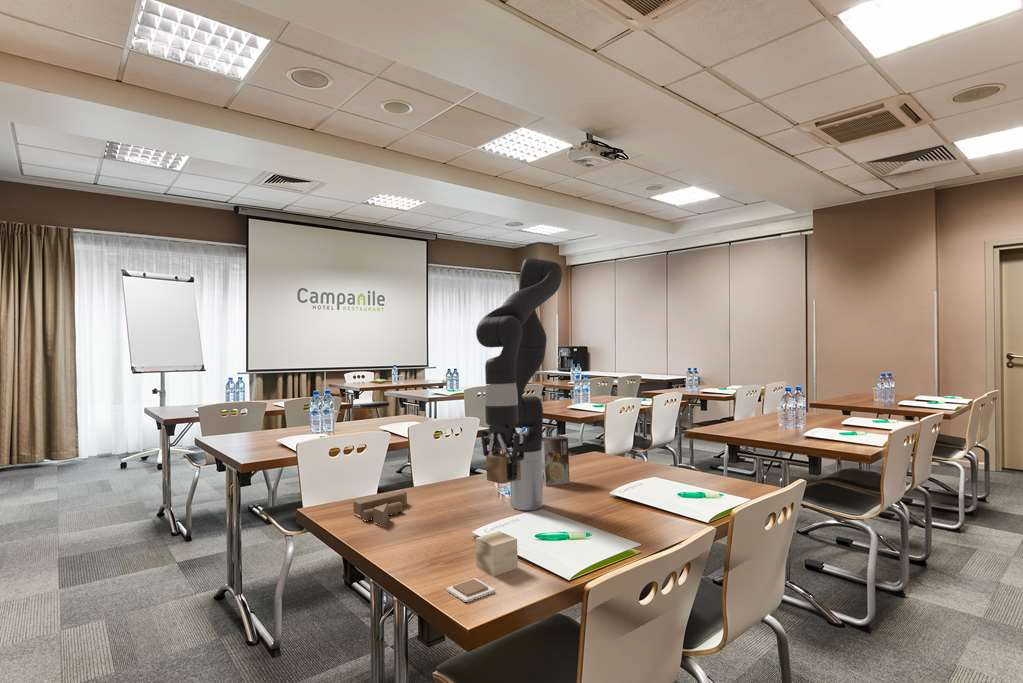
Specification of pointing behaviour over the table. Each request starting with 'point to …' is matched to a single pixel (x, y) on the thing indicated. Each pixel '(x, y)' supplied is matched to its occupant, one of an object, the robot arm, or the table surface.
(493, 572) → the beech cube
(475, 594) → the walnut tile
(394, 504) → the wooden block set
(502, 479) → the walnut cube
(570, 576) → the table surface
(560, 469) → the coffee box
